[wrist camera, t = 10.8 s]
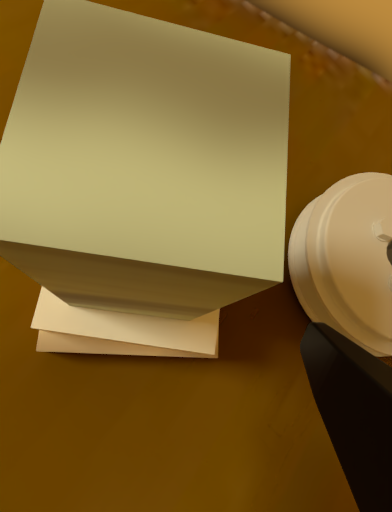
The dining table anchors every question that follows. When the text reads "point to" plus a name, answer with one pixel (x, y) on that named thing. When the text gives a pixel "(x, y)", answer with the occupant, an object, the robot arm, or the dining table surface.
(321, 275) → the lid
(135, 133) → the pillar block
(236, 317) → the dining table surface
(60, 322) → the tower top slab
